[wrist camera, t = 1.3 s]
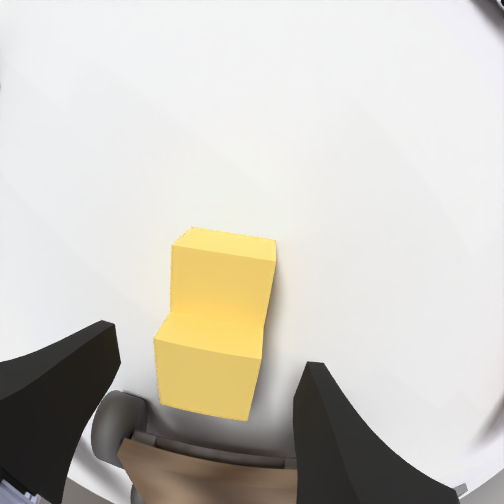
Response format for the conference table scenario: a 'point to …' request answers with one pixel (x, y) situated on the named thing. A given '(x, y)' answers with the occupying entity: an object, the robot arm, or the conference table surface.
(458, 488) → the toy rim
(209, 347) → the yellow step block
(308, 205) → the conference table surface
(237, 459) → the trolley
